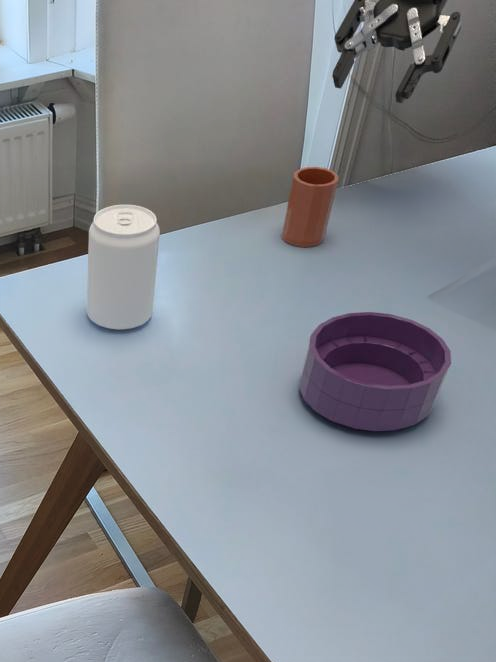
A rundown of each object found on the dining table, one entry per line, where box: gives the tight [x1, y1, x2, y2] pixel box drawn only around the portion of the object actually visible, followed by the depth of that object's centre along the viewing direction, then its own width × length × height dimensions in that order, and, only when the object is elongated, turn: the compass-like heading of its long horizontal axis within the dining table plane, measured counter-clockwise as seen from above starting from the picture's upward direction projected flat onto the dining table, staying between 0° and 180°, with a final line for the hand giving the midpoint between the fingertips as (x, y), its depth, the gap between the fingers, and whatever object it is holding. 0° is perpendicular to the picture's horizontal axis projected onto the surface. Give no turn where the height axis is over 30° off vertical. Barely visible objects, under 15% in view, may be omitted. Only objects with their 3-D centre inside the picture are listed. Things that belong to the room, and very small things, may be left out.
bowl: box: [298, 311, 452, 432], centre depth 95 cm, size 14×14×6 cm
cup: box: [281, 166, 339, 248], centre depth 117 cm, size 6×6×8 cm
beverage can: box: [86, 204, 161, 330], centre depth 104 cm, size 8×8×12 cm
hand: (367, 92), depth 113 cm, fingers open, 8 cm apart
